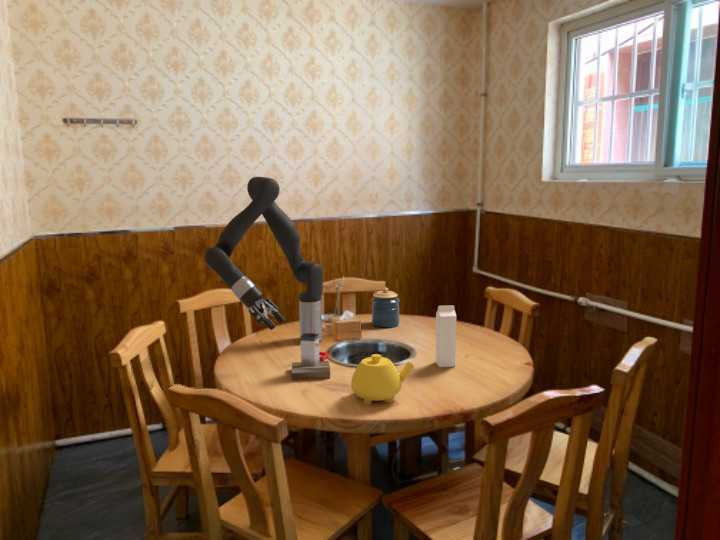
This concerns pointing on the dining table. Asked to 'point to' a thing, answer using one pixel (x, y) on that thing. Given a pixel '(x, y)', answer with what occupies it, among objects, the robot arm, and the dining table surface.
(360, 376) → the teapot
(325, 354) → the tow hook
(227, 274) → the robot arm
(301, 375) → the coupler plate
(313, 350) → the grey rectangular container
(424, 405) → the dining table surface
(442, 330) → the milk
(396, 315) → the canister
